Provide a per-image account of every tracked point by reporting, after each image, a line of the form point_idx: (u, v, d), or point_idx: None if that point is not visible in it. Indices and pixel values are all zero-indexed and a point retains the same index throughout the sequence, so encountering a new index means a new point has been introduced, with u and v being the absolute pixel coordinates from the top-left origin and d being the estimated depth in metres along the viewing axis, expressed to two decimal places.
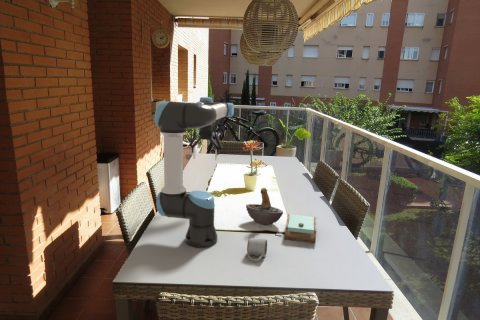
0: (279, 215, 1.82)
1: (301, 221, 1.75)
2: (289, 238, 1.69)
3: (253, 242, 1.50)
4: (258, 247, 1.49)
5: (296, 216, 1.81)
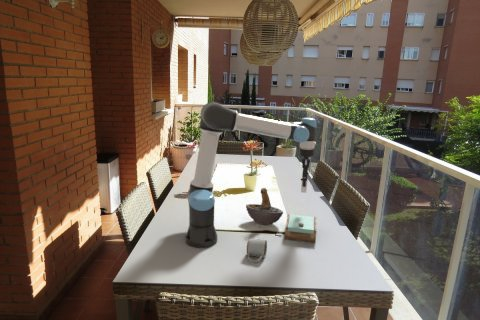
0: (279, 215, 1.82)
1: (301, 221, 1.75)
2: (289, 238, 1.69)
3: (253, 243, 1.50)
4: (258, 248, 1.48)
5: (296, 216, 1.81)
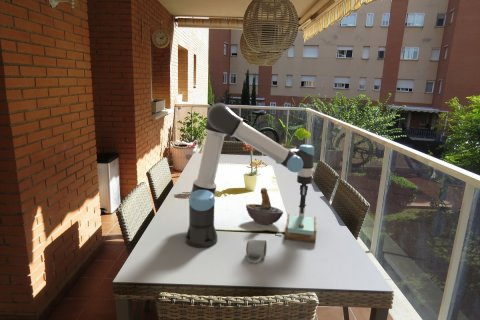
0: (279, 215, 1.82)
1: (301, 222, 1.74)
2: (289, 238, 1.69)
3: (253, 244, 1.49)
4: (257, 249, 1.48)
5: (296, 217, 1.80)
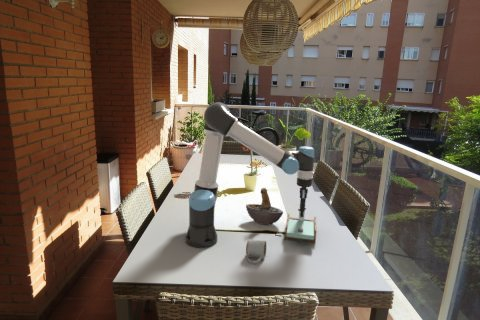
0: (279, 215, 1.82)
1: (300, 226, 1.69)
2: (289, 238, 1.69)
3: (252, 244, 1.49)
4: (257, 249, 1.47)
5: (295, 221, 1.75)
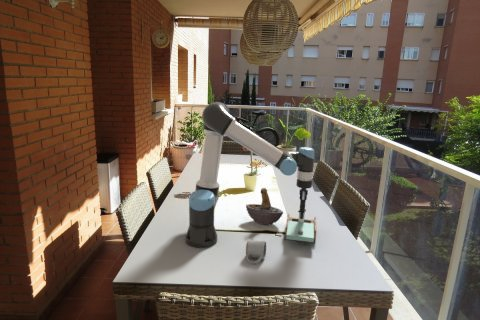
0: (279, 215, 1.82)
1: (300, 228, 1.67)
2: None
3: (252, 244, 1.48)
4: (257, 249, 1.47)
5: (295, 222, 1.73)
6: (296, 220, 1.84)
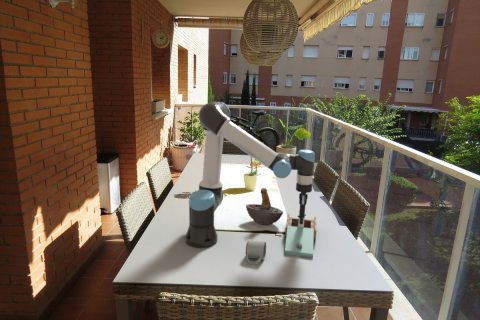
0: (279, 215, 1.82)
1: (300, 238, 1.61)
2: None
3: (252, 245, 1.48)
4: (257, 250, 1.47)
5: (294, 229, 1.66)
6: (296, 220, 1.84)
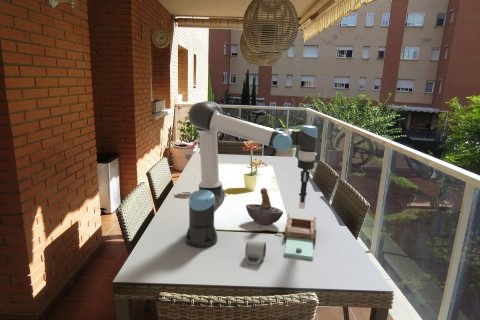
0: (279, 215, 1.82)
1: (299, 245, 1.60)
2: None
3: (252, 245, 1.48)
4: (256, 250, 1.46)
5: (294, 239, 1.67)
6: (296, 220, 1.84)
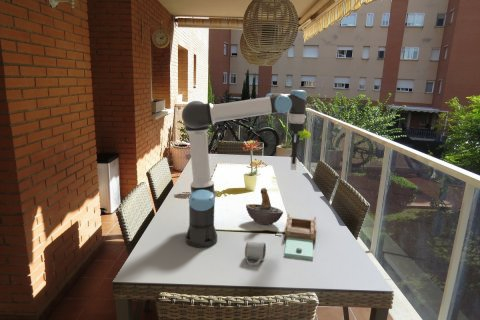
0: (279, 215, 1.82)
1: (299, 245, 1.60)
2: None
3: (251, 246, 1.47)
4: (256, 251, 1.46)
5: (293, 239, 1.67)
6: (296, 220, 1.84)
